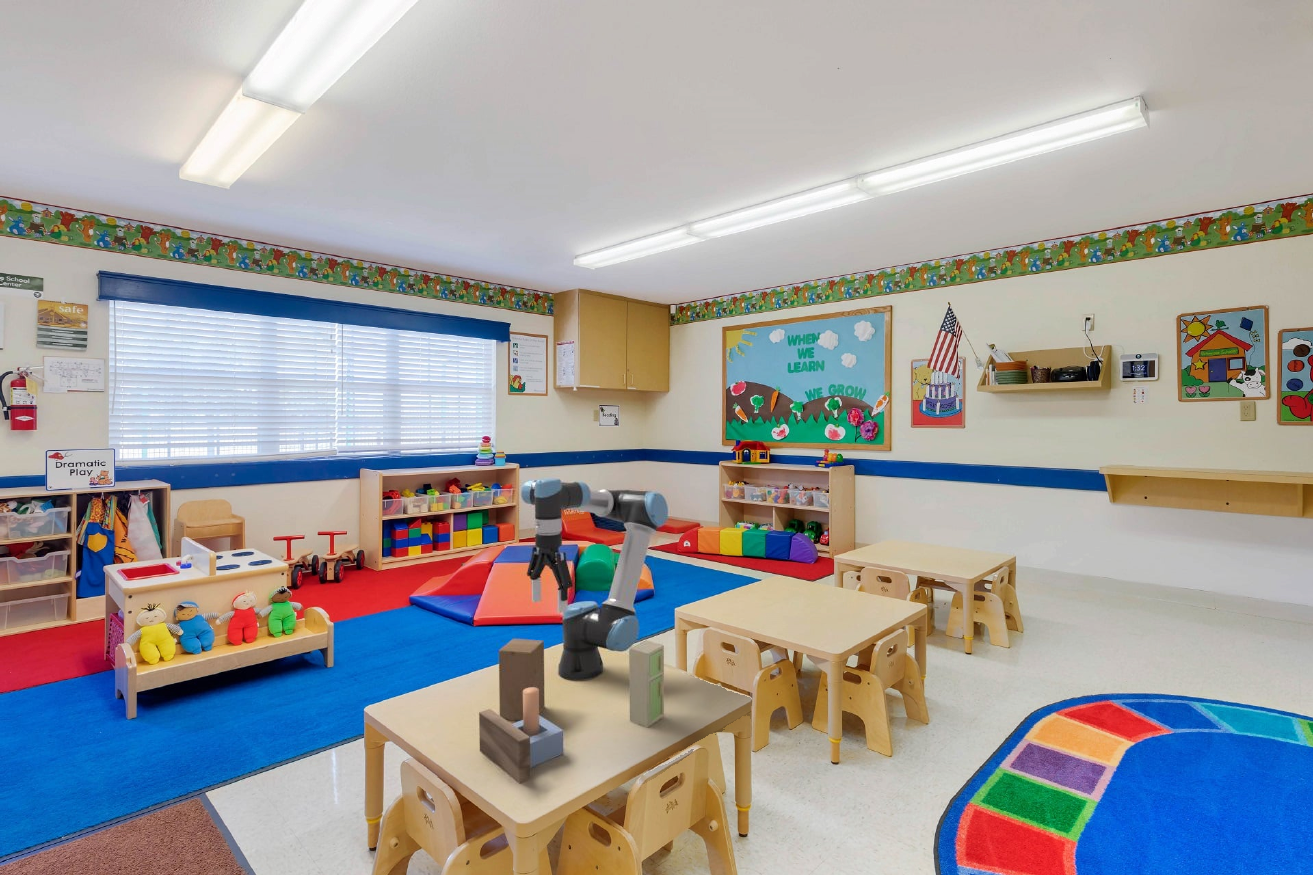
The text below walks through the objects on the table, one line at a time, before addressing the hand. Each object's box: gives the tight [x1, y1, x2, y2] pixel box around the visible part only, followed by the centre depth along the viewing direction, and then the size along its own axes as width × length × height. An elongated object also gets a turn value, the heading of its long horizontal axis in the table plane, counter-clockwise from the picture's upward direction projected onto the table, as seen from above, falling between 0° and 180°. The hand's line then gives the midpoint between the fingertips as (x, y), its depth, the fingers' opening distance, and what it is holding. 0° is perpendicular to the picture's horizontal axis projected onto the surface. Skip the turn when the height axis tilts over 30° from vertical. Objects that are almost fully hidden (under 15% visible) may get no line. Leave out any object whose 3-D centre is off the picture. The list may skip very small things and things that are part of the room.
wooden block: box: [498, 638, 546, 722], centre depth 183 cm, size 10×10×20 cm
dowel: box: [523, 687, 540, 737], centre depth 161 cm, size 4×4×14 cm
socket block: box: [511, 714, 564, 769], centre depth 161 cm, size 12×12×6 cm
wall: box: [478, 708, 532, 784], centre depth 156 cm, size 3×20×10 cm, turn 42°
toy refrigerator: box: [628, 640, 665, 728], centre depth 179 cm, size 8×7×21 cm
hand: (549, 606), depth 181 cm, fingers open, 13 cm apart
